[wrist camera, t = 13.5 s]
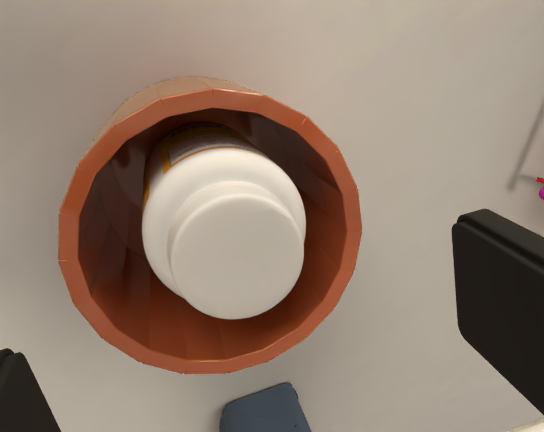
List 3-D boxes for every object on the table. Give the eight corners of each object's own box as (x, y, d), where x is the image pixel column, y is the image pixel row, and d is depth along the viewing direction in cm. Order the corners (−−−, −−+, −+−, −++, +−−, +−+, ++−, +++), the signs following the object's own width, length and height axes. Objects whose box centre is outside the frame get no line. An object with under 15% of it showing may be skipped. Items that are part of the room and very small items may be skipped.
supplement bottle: (209, 252, 25) (245, 376, 16) (118, 184, 23) (96, 278, 13) (283, 170, 24) (366, 245, 15) (197, 93, 22) (232, 123, 13)
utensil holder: (42, 194, 23) (-14, 268, 15) (187, 27, 22) (208, 15, 14) (206, 311, 27) (229, 418, 19) (335, 172, 26) (415, 225, 18)
